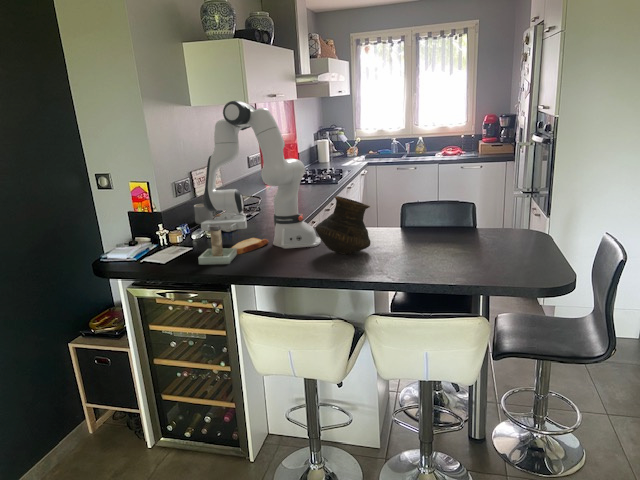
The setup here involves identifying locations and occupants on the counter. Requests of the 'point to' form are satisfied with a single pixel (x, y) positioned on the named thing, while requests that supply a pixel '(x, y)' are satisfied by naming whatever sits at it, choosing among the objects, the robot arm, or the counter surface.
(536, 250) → the counter surface
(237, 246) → the slice of bread
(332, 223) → the ceramic pot
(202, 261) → the box
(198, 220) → the coffee mug
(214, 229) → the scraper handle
